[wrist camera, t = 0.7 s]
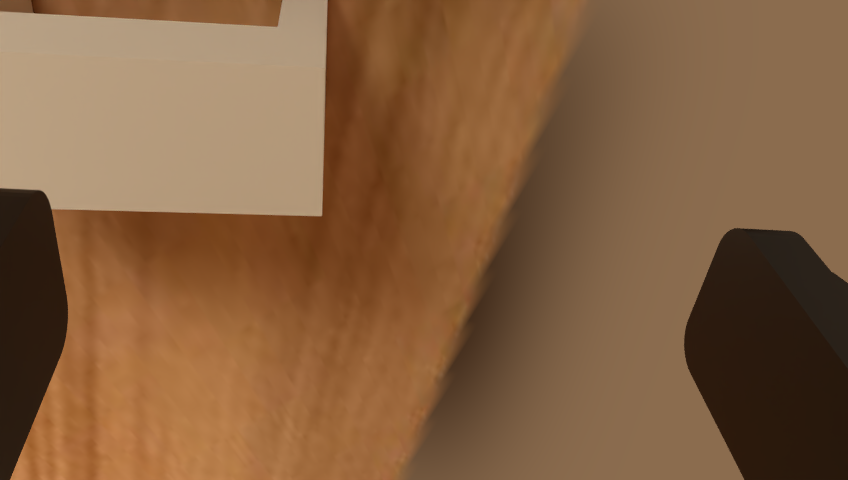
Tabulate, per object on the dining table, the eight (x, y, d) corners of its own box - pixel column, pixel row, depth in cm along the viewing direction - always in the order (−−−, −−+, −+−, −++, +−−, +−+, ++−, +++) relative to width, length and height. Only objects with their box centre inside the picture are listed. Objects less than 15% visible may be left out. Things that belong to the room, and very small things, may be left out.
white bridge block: (7, 92, 30) (-83, 205, 24) (-23, -42, 27) (-136, 44, 21) (325, 106, 32) (322, 216, 25) (328, -20, 29) (325, 68, 22)
